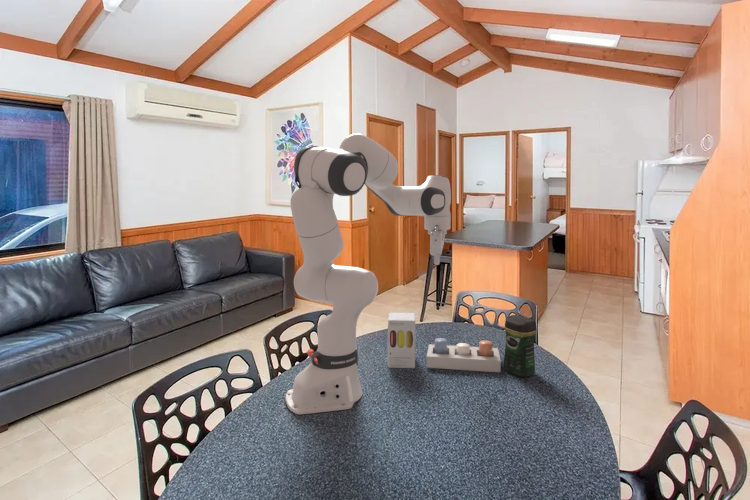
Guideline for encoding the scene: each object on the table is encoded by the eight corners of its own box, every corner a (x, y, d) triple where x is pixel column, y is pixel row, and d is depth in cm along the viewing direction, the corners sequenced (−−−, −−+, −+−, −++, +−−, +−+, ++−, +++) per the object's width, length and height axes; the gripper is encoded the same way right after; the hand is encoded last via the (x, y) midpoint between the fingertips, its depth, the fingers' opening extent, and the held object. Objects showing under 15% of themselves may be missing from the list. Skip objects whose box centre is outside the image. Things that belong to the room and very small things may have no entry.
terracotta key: (479, 356, 147) (479, 344, 146) (478, 351, 151) (478, 340, 151) (492, 356, 146) (493, 345, 145) (491, 351, 150) (492, 340, 150)
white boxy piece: (426, 367, 148) (426, 356, 147) (428, 354, 158) (428, 344, 158) (500, 372, 143) (500, 360, 142) (497, 358, 154) (497, 348, 153)
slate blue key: (434, 353, 150) (434, 342, 149) (434, 348, 154) (434, 337, 153) (447, 354, 149) (447, 343, 148) (447, 349, 153) (447, 338, 153)
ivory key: (456, 358, 149) (456, 347, 148) (456, 353, 153) (456, 342, 152) (469, 359, 148) (469, 348, 147) (469, 354, 152) (469, 343, 151)
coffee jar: (539, 374, 142) (541, 318, 139) (522, 380, 137) (525, 323, 135) (515, 363, 150) (517, 311, 147) (498, 369, 146) (500, 315, 143)
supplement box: (387, 368, 148) (386, 320, 145) (388, 357, 157) (387, 311, 154) (415, 368, 147) (415, 320, 144) (415, 357, 156) (415, 311, 153)
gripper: (445, 227, 137) (445, 270, 140) (447, 221, 157) (447, 259, 159) (425, 227, 139) (425, 269, 141) (429, 221, 159) (429, 258, 161)
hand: (437, 264), depth 150 cm, fingers closed
